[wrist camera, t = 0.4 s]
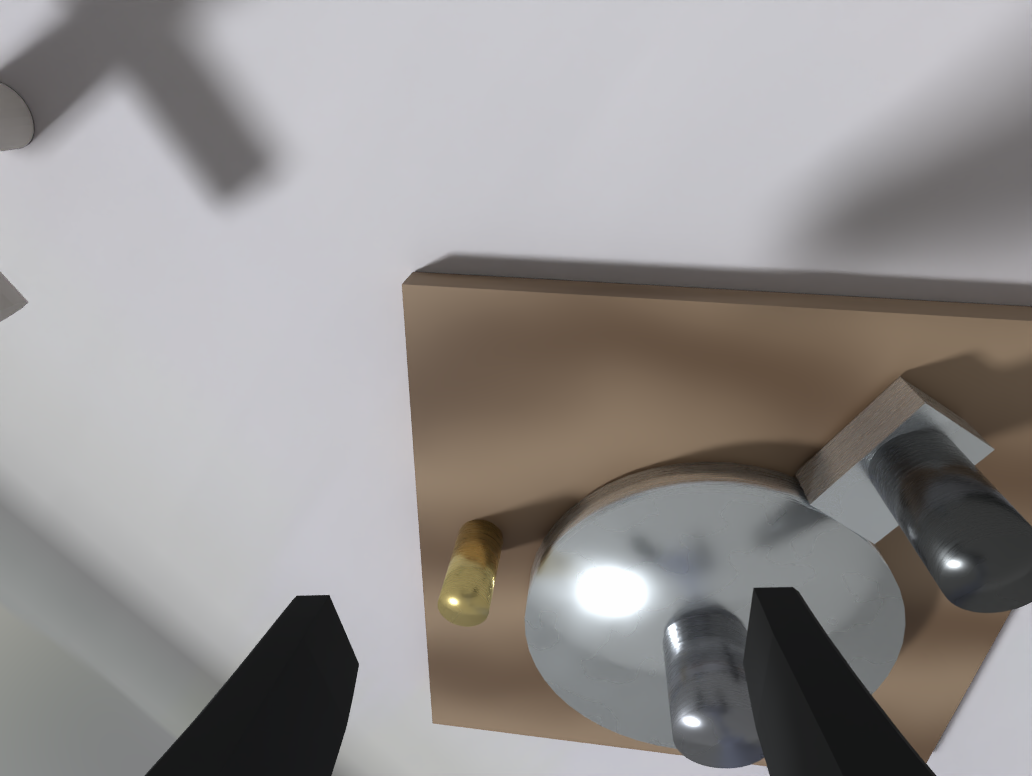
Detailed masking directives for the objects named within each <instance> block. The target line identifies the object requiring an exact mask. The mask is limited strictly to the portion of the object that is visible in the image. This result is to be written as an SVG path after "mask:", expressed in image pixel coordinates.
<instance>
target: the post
mask: <svg viewBox="0 0 1032 776" xmlns="http://www.w3.org/2000/svg"><path fill="white" fill-rule="evenodd" d="M746 637H747V630H746V628H745V627H744V626H743V625H742V624H740V623H739V622H738V621H736V620H734V619H732V618H730V617H727V616H725V615H721V614H715V613H699V614H693V615H689V616H686V617H683V618H681V619H679V620H677V621H676V622H674V623H673V624H672V625H671V626H670V627H669V628H668V629H667V630H666V632H665V634H664V637H663V642H662V643H663V653H664V662H665V671H666V680H667V690H668V699H669V708H670V717H671V727H672V736H673V742H674V744H675V746H676V748H677V749H678V751H679V752H680V753H681V754H682V755H684V756H685V757H686V758H688V759H690V760H691V761H694V762H696V763H698V764H701V765H705V766H709V767H714V768H737V767H743V766H747V765H750V764H753V763H756V762H758V761H760V760H761V759H763V758H764V754H763V751H762V748H761V744H760V741H759V738H758V734H757V731H756V727H755V722H754V717H753V712H752V707H751V702H750V697H749V692H748V687H747V682H746V677H745V671H744V666H743V659H744V651H745V644H746Z"/></svg>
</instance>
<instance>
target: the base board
mask: <svg viewBox="0 0 1032 776" xmlns="http://www.w3.org/2000/svg"><path fill="white" fill-rule="evenodd" d="M402 293H403V307H404V321H405V336H406V350H407V364H408V378H409V393H410V407H411V421H412V435H413V450H414V464H415V478H416V492H417V507H418V521H419V535H420V549H421V564H422V578H423V592H424V606H425V621H426V635H427V649H428V663H429V678H430V692H431V706H432V720H433V723H435V724H442V725H450V726H458V727H466V728H473V729H481V730H489V731H497V732H505V733H512V734H520V735H528V736H536V737H543V738H551V739H559V740H567V741H575V742H582V743H590V744H598V745H606V746H614V747H621V748H629V749H637V750H645V751H652V752H660V753H668V754H676V755H682V754H681V753H680V752H679V751H678V749H674V748H669V747H663V746H657V745H653V744H649V743H645V742H641V741H638V740H635V739H632V738H629V737H626V736H623V735H620V734H618V733H615V732H613V731H611V730H609V729H607V728H604V727H602V726H600V725H598V724H597V723H595V722H593V721H591V720H590V719H588V718H586V717H584V716H583V715H582V714H580V713H579V712H577V711H576V710H575V709H573V708H572V707H570V706H569V705H568V704H567V703H566V702H565V701H564V700H562V699H561V698H560V697H559V696H558V695H557V694H556V693H555V692H554V691H553V689H552V688H551V687H550V686H549V685H548V684H547V682H546V681H545V680H544V678H543V677H542V675H541V674H540V672H539V670H538V669H537V667H536V666H535V663H534V661H533V659H532V656H531V654H530V651H529V648H528V644H527V639H526V635H525V612H526V604H527V596H528V589H529V582H530V574H531V569H532V565H533V562H534V559H535V556H536V553H537V551H538V549H539V547H540V545H541V543H542V542H543V540H544V538H545V536H546V535H547V534H548V532H549V531H550V530H551V528H552V527H553V526H554V524H555V523H556V522H557V521H558V520H559V519H560V518H561V517H562V516H563V515H564V514H565V513H566V512H567V511H568V510H569V509H570V508H571V507H573V506H574V505H575V504H577V503H578V502H579V501H581V500H582V499H583V498H585V497H586V496H588V495H589V494H591V493H593V492H594V491H596V490H598V489H600V488H601V487H603V486H605V485H607V484H609V483H612V482H614V481H616V480H619V479H621V478H623V477H626V476H628V475H631V474H635V473H638V472H641V471H645V470H648V469H652V468H657V467H662V466H668V465H673V464H680V463H693V462H730V463H737V464H745V465H752V466H758V467H762V468H766V469H770V470H774V471H778V472H782V473H784V474H787V475H789V476H792V477H795V478H797V476H796V474H795V473H796V472H797V471H798V470H799V469H801V468H802V467H803V466H804V465H805V464H806V463H807V462H808V461H809V460H810V459H811V458H812V457H814V456H815V455H816V454H817V453H818V452H819V451H820V450H821V449H822V448H823V447H824V446H825V445H827V444H828V443H829V442H830V441H831V440H832V439H833V438H834V437H835V436H836V435H837V434H838V433H840V432H841V431H842V430H843V429H844V428H845V427H846V426H847V425H848V424H849V423H850V422H851V421H852V420H854V419H855V418H856V417H857V416H858V415H859V414H860V413H861V412H862V411H863V410H864V409H865V408H867V407H868V406H869V405H870V404H871V403H872V402H873V401H874V400H875V399H876V398H877V397H878V396H880V395H881V394H882V393H883V392H884V391H885V390H886V389H887V388H888V387H889V386H890V385H891V384H893V383H894V382H895V381H896V380H897V379H898V378H899V377H901V378H903V379H904V380H906V381H907V382H909V383H910V384H912V385H913V386H915V387H916V388H918V389H919V390H921V391H922V392H924V393H925V394H927V395H928V396H930V397H931V398H933V399H934V400H936V401H937V402H939V403H940V404H942V405H943V406H945V407H946V408H948V409H949V410H951V411H952V412H953V413H955V414H956V415H958V416H959V417H961V418H962V419H964V420H965V421H966V422H967V423H968V424H969V425H970V426H971V427H972V428H973V429H974V430H975V431H976V432H977V433H979V434H980V435H981V436H982V437H983V438H984V439H985V440H986V441H987V442H988V443H989V444H990V445H991V446H992V447H993V448H994V449H995V450H994V451H992V452H991V453H990V454H989V455H987V456H986V457H985V458H984V459H982V460H981V461H980V462H978V463H977V464H976V465H975V466H976V467H977V468H978V469H979V470H980V472H981V473H982V474H983V475H984V476H985V477H986V478H987V479H988V480H989V481H990V482H991V483H992V484H993V485H994V487H995V488H996V489H997V490H998V491H999V492H1000V493H1001V494H1002V495H1003V496H1004V497H1005V498H1006V499H1007V500H1008V502H1009V503H1010V504H1011V505H1012V506H1013V507H1014V508H1015V509H1016V510H1017V511H1018V512H1019V513H1020V514H1021V515H1022V516H1023V518H1024V519H1025V520H1026V521H1027V522H1028V523H1029V524H1030V525H1031V526H1032V307H1029V306H1011V305H994V304H976V303H958V302H940V301H923V300H905V299H887V298H869V297H851V296H834V295H816V294H798V293H780V292H763V291H745V290H727V289H709V288H691V287H674V286H656V285H638V284H620V283H602V282H585V281H567V280H549V279H531V278H514V277H496V276H478V275H460V274H442V273H425V272H413V273H412V274H411V275H410V276H409V277H408V278H407V279H406V280H405V281H404V283H403V284H402ZM797 479H798V478H797ZM471 520H485V521H488V522H491V523H493V524H494V525H496V526H497V527H498V528H499V529H500V531H501V532H502V535H503V545H502V550H501V555H500V560H499V565H498V570H497V575H496V580H495V585H494V590H493V595H492V600H491V605H490V610H489V614H488V617H487V619H486V620H485V621H484V622H482V623H481V624H479V625H476V626H471V627H464V626H459V625H455V624H453V623H451V622H449V621H447V620H446V619H445V618H444V617H443V616H442V615H441V614H440V612H439V610H438V599H439V596H440V593H441V589H442V586H443V583H444V579H445V576H446V573H447V569H448V566H449V563H450V559H451V556H452V553H453V550H454V546H455V543H456V540H457V536H458V533H459V530H460V528H461V526H462V525H463V524H465V523H466V522H468V521H471ZM876 546H877V548H878V549H879V551H880V553H881V555H882V556H883V558H884V560H885V562H886V563H887V565H888V567H889V569H890V570H891V572H892V574H893V576H894V578H895V580H896V582H897V584H898V586H899V589H900V592H901V596H902V600H903V603H904V608H905V632H904V638H903V644H902V647H901V649H900V652H899V655H898V658H897V660H896V662H895V664H894V666H893V668H892V669H891V671H890V673H889V675H888V676H887V677H886V679H885V680H884V681H883V682H882V684H881V685H880V686H879V687H878V689H877V690H876V691H875V692H874V693H873V694H872V696H873V698H874V699H875V700H876V701H877V703H878V704H879V705H880V706H881V708H882V709H883V710H884V712H885V713H886V714H887V715H888V717H889V718H890V719H891V721H892V722H893V723H894V724H895V726H896V727H897V728H898V730H899V731H900V732H901V733H902V735H903V736H904V737H905V738H906V740H907V741H908V742H909V743H910V745H911V746H912V747H913V748H914V749H915V751H916V752H917V753H918V754H919V756H920V757H921V758H922V759H923V760H924V762H925V763H927V761H928V759H929V757H930V756H931V754H932V752H933V750H934V748H935V747H936V745H937V743H938V741H939V739H940V738H941V736H942V734H943V732H944V730H945V729H946V727H947V725H948V723H949V721H950V720H951V718H952V716H953V714H954V712H955V711H956V709H957V707H958V705H959V703H960V702H961V700H962V698H963V696H964V694H965V693H966V691H967V689H968V687H969V685H970V684H971V682H972V680H973V678H974V676H975V675H976V673H977V671H978V669H979V667H980V666H981V664H982V662H983V660H984V658H985V657H986V655H987V653H988V651H989V650H990V648H991V646H992V644H993V642H994V641H995V639H996V637H997V635H998V633H999V632H1000V630H1001V628H1002V626H1003V624H1004V623H1005V621H1006V619H1007V617H1008V615H1009V614H1010V612H1011V610H1009V611H1004V612H997V613H978V612H972V611H968V610H964V609H962V608H959V607H957V606H955V605H954V604H952V603H951V602H950V601H949V600H948V599H947V598H946V597H945V595H944V594H943V592H942V591H941V589H940V588H939V586H938V585H937V583H936V582H935V580H934V579H933V577H932V576H931V574H930V572H929V571H928V569H927V568H926V566H925V565H924V563H923V562H922V560H921V559H920V557H919V555H918V554H917V552H916V551H915V549H914V548H913V546H912V545H911V543H910V542H909V540H908V538H907V537H906V535H905V534H904V532H903V531H902V529H901V528H900V526H899V525H898V526H897V527H896V528H895V529H893V530H892V531H891V532H890V533H888V534H887V535H886V536H885V537H883V538H882V539H881V540H879V541H878V542H877V543H876ZM753 764H754V765H761V766H767V764H766V761H765V758H763V759H761V760H760V761H758V762H756V763H753Z"/></svg>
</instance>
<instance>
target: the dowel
mask: <svg viewBox="0 0 1032 776" xmlns="http://www.w3.org/2000/svg"><path fill="white" fill-rule="evenodd" d="M502 545H503V535H502V532H501V531H500V529H499V528H498V527H497V526H496V525H494V524H493V523H491V522H488V521H485V520H471V521H468V522H466V523H465V524H463V525H462V526H461V528H460V530H459V533H458V536H457V540H456V543H455V546H454V550H453V553H452V556H451V559H450V563H449V566H448V569H447V573H446V576H445V579H444V583H443V586H442V589H441V593H440V596H439V599H438V610H439V612H440V614H441V615H442V616H443V617H444V618H445V619H446V620H447V621H449V622H451V623H453V624H455V625H459V626H464V627H471V626H476V625H479V624H481V623H482V622H484V621H485V620H486V619H487V617H488V614H489V610H490V605H491V600H492V595H493V590H494V585H495V580H496V575H497V570H498V565H499V560H500V555H501V550H502Z"/></svg>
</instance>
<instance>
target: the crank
mask: <svg viewBox="0 0 1032 776" xmlns="http://www.w3.org/2000/svg"><path fill="white" fill-rule="evenodd" d="M994 450H995V449H994V448H993V447H992V446H991V445H990V444H989V443H988V442H987V441H986V440H985V439H984V438H983V437H982V436H981V435H980V434H979V433H977V432H976V431H975V430H974V429H973V428H972V427H971V426H970V425H969V424H968V423H967V422H966V421H965V420H964V419H962V418H961V417H959V416H958V415H956V414H955V413H953V412H952V411H951V410H949V409H948V408H946V407H945V406H943V405H942V404H940V403H939V402H937V401H936V400H934V399H933V398H931V397H930V396H928V395H927V394H925V393H924V392H922V391H921V390H919V389H918V388H916V387H915V386H913V385H912V384H910V383H909V382H907V381H906V380H904V379H903V378H901V377H899V378H898V379H897V380H896V381H895V382H894V383H893V384H891V385H890V386H889V387H888V388H887V389H886V390H885V391H884V392H883V393H882V394H881V395H880V396H878V397H877V398H876V399H875V400H874V401H873V402H872V403H871V404H870V405H869V406H868V407H867V408H865V409H864V410H863V411H862V412H861V413H860V414H859V415H858V416H857V417H856V418H855V419H854V420H852V421H851V422H850V423H849V424H848V425H847V426H846V427H845V428H844V429H843V430H842V431H841V432H840V433H838V434H837V435H836V436H835V437H834V438H833V439H832V440H831V441H830V442H829V443H828V444H827V445H825V446H824V447H823V448H822V449H821V450H820V451H819V452H818V453H817V454H816V455H815V456H814V457H812V458H811V459H810V460H809V461H808V462H807V463H806V464H805V465H804V466H803V467H802V468H801V469H799V470H798V471H797V472H796V473H795V474H796V476H797V478H798V479H797V478H795V477H792V476H789V475H787V474H784V473H782V472H778V471H774V470H770V469H766V468H762V467H758V466H752V465H745V464H737V463H730V462H693V463H680V464H673V465H668V466H662V467H657V468H652V469H648V470H645V471H641V472H638V473H635V474H631V475H628V476H626V477H623V478H621V479H619V480H616V481H614V482H612V483H609V484H607V485H605V486H603V487H601V488H600V489H598V490H596V491H594V492H593V493H591V494H589V495H588V496H586V497H585V498H583V499H582V500H581V501H579V502H578V503H577V504H575V505H574V506H573V507H571V508H570V509H569V510H568V511H567V512H566V513H565V514H564V515H563V516H562V517H561V518H560V519H559V520H558V521H557V522H556V523H555V524H554V526H553V527H552V528H551V530H550V531H549V532H548V534H547V535H546V536H545V538H544V540H543V542H542V543H541V545H540V547H539V549H538V551H537V553H536V556H535V559H534V562H533V565H532V569H531V574H530V582H529V589H528V596H527V604H526V612H525V635H526V639H527V644H528V648H529V651H530V654H531V656H532V659H533V661H534V663H535V666H536V667H537V669H538V670H539V672H540V674H541V675H542V677H543V678H544V680H545V681H546V682H547V684H548V685H549V686H550V687H551V688H552V689H553V691H554V692H555V693H556V694H557V695H558V696H559V697H560V698H561V699H562V700H564V701H565V702H566V703H567V704H568V705H569V706H570V707H572V708H573V709H575V710H576V711H577V712H579V713H580V714H582V715H583V716H584V717H586V718H588V719H590V720H591V721H593V722H595V723H597V724H598V725H600V726H602V727H604V728H607V729H609V730H611V731H613V732H615V733H618V734H620V735H623V736H626V737H629V738H632V739H635V740H638V741H641V742H645V743H649V744H653V745H657V746H663V747H669V748H674V749H677V748H676V746H675V744H674V742H673V736H672V727H671V717H670V708H669V699H668V690H667V680H666V671H665V662H664V653H663V643H662V642H663V637H664V634H665V632H666V630H667V629H668V628H669V627H670V626H671V625H672V624H673V623H674V622H676V621H677V620H679V619H681V618H683V617H686V616H689V615H693V614H699V613H715V614H721V615H725V616H727V617H730V618H732V619H734V620H736V621H738V622H739V623H740V624H742V625H743V626H744V627H745V628H746V630H748V623H749V616H750V609H751V601H752V594H753V588H759V587H794V588H795V589H796V590H797V591H799V592H800V594H801V596H802V597H803V599H804V600H805V602H806V603H807V605H808V606H809V608H810V609H811V611H812V612H813V614H814V616H815V617H816V619H817V620H818V621H819V623H820V624H821V626H822V627H823V629H824V630H825V632H826V633H827V635H828V636H829V637H830V639H831V640H832V642H833V643H834V645H835V646H836V647H837V649H838V650H839V652H840V653H841V654H842V656H843V657H844V659H845V660H846V661H847V663H848V664H849V665H850V667H851V668H852V670H853V671H854V672H855V674H856V675H857V676H858V678H859V679H860V680H861V682H862V683H863V684H864V686H865V687H866V688H867V690H868V691H869V692H870V694H871V695H872V694H873V693H874V692H875V691H876V690H877V689H878V687H879V686H880V685H881V684H882V682H883V681H884V680H885V679H886V677H887V676H888V675H889V673H890V671H891V669H892V668H893V666H894V664H895V662H896V660H897V658H898V655H899V652H900V649H901V647H902V644H903V638H904V632H905V608H904V603H903V600H902V596H901V592H900V589H899V586H898V584H897V582H896V580H895V578H894V576H893V574H892V572H891V570H890V569H889V567H888V565H887V563H886V562H885V560H884V558H883V556H882V555H881V553H880V551H879V549H878V548H877V546H876V543H877V542H878V541H879V540H881V539H882V538H883V537H885V536H886V535H887V534H888V533H890V532H891V531H892V530H893V529H895V528H896V527H897V526H898V525H899V526H900V528H901V529H902V531H903V532H904V534H905V535H906V537H907V538H908V540H909V542H910V543H911V545H912V546H913V548H914V549H915V551H916V552H917V554H918V555H919V557H920V559H921V560H922V562H923V563H924V565H925V566H926V568H927V569H928V571H929V572H930V574H931V576H932V577H933V579H934V580H935V582H936V583H937V585H938V586H939V588H940V589H941V591H942V592H943V594H944V595H945V597H946V598H947V599H948V600H949V601H950V602H951V603H952V604H954V605H955V606H957V607H959V608H962V609H964V610H968V611H972V612H978V613H997V612H1004V611H1009V610H1013V609H1016V608H1019V607H1022V606H1024V605H1027V604H1029V603H1031V602H1032V526H1031V525H1030V524H1029V523H1028V522H1027V521H1026V520H1025V519H1024V518H1023V516H1022V515H1021V514H1020V513H1019V512H1018V511H1017V510H1016V509H1015V508H1014V507H1013V506H1012V505H1011V504H1010V503H1009V502H1008V500H1007V499H1006V498H1005V497H1004V496H1003V495H1002V494H1001V493H1000V492H999V491H998V490H997V489H996V488H995V487H994V485H993V484H992V483H991V482H990V481H989V480H988V479H987V478H986V477H985V476H984V475H983V474H982V473H981V472H980V470H979V469H978V468H977V467H976V466H975V465H976V464H977V463H978V462H980V461H981V460H982V459H984V458H985V457H986V456H987V455H989V454H990V453H991V452H992V451H994Z"/></svg>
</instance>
